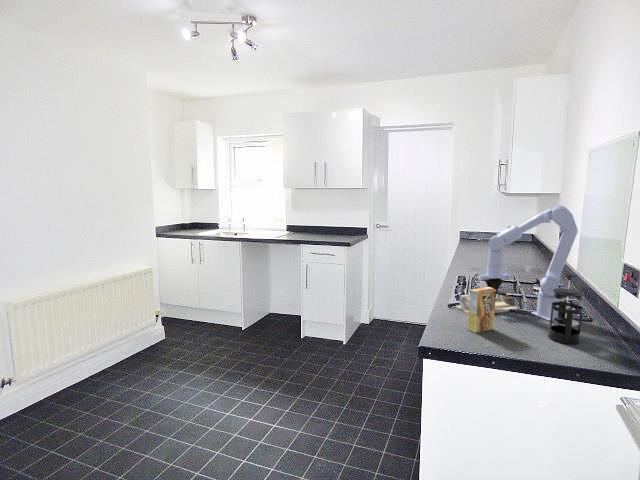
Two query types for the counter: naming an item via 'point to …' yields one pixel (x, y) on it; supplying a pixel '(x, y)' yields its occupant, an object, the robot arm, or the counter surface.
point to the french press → (565, 316)
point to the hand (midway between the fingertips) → (492, 296)
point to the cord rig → (500, 304)
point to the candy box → (481, 309)
